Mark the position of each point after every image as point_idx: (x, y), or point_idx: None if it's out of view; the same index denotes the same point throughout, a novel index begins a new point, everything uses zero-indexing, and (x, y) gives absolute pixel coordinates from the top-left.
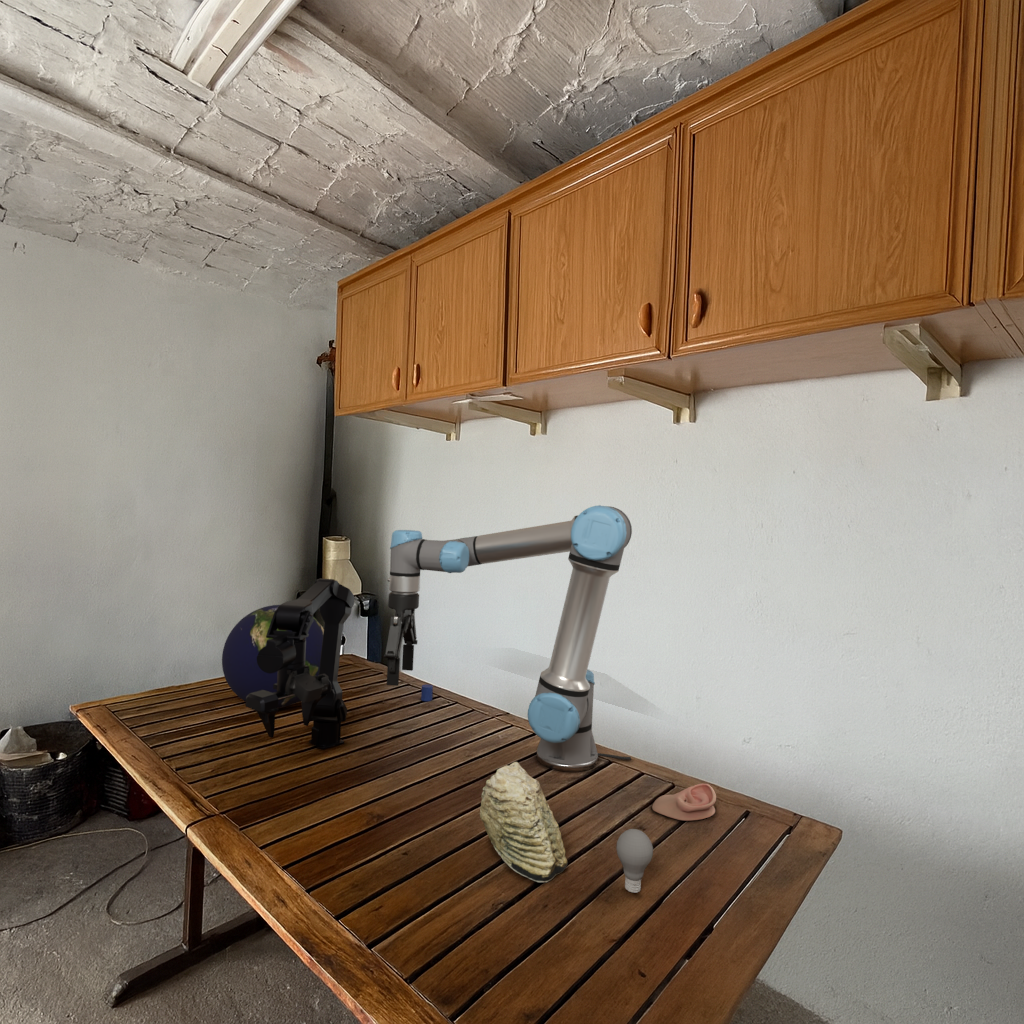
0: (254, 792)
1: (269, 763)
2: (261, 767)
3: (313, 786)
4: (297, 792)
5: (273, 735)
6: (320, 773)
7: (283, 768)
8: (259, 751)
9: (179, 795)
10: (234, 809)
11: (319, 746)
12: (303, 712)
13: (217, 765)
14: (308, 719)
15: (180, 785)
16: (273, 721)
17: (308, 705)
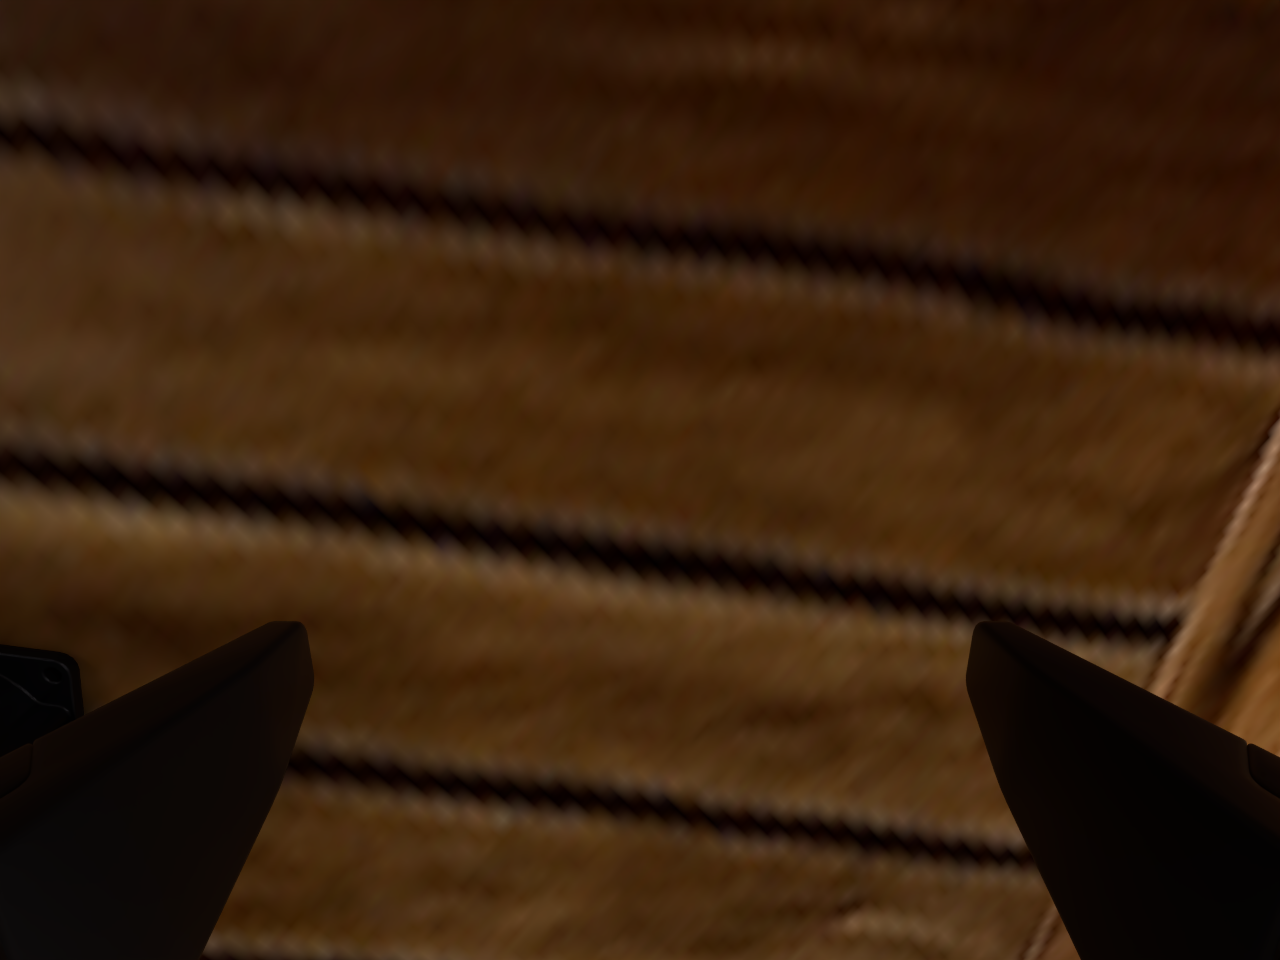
0: (934, 439)
1: (529, 750)
2: (611, 737)
3: (560, 130)
4: (732, 149)
5: (996, 632)
6: (349, 304)
7: (511, 612)
8: (456, 937)
9: None
10: (1230, 314)
11: (71, 702)
12: (219, 869)
13: (778, 946)
14: (237, 667)
15: None
16: (1224, 776)
17: (58, 926)
